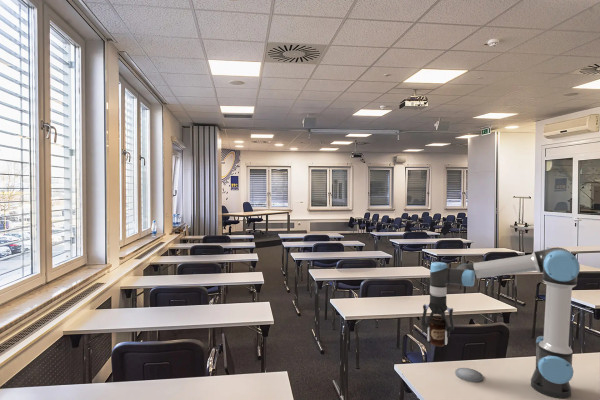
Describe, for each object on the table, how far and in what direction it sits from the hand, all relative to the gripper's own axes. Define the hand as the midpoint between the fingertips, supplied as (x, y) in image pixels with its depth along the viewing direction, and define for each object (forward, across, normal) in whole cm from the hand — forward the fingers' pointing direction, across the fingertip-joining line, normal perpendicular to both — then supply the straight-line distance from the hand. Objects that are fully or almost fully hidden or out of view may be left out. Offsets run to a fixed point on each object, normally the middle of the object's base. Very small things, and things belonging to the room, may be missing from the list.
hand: (437, 341), depth 177 cm
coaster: (+16, -14, -7) cm, 22 cm away
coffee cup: (+1, 0, 0) cm, 1 cm away
